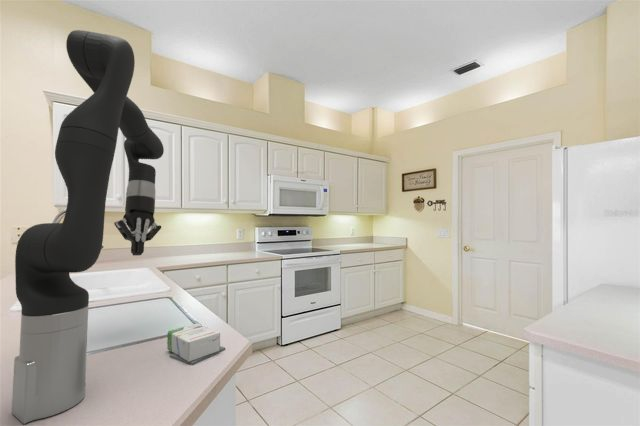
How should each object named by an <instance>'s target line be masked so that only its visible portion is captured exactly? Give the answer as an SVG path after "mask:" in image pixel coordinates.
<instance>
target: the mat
mask: <svg viewBox="0 0 640 426" xmlns="http://www.w3.org/2000/svg"><path fill="white" fill-rule="evenodd" d="M224 351H226V347H224V346H221V345H220V350H219V351H217V352H215V353H212V354H209V355H206V356H203V357H201V358H198V359H195V360H192V361H190V362H188V361H187V360H185V359H183V358H182V357H180V356H178V355H177V354H175V353H173V352H172V353H171V354H169V358H171V359H174V360H177V361H180V362H182V363H185V364H188V365H191V366H193V365H196V364H198V363H200V362H202V361H205V360H206V359H208V358H211V357H214V356H215V355H217V354H219V353H221V352H224Z"/></svg>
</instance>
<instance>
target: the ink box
mask: <svg viewBox="0 0 640 426" xmlns="http://www.w3.org/2000/svg"><path fill="white" fill-rule="evenodd" d="M220 346H221V332H220V331H217V330H215V329H213V328H211V327H208V326H206V325H203V324H202V323H199V322H198V323H193V324H190V325H186V326H183V327H178V328H175V329H171V330H168V331H167V350H168V351H170V352H172V354H173V353H175V354H177V355H178V356H180V357H182V358H183V359H185V360H187V361H188V362H190V361H192V360H195V359H198V358H201V357H203V356H206V355H209V354H212V353H215V352H217V351H219V350H220Z"/></svg>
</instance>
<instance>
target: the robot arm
mask: <svg viewBox="0 0 640 426" xmlns="http://www.w3.org/2000/svg"><path fill="white" fill-rule="evenodd" d="M65 44H66V45H65V46H66V47H65V48H66V52H67V55H68V58H69V61H70V62H71V64H72V66H73V68H74V69H75V71H76V72H77V74H78V75H79V77H80V78H81V79H82V80H83V81H84V82H85V84H86V85H88V87H89V89H91V90H92V92H93V94H91V95H90V96H89V97H88V98H87V99H85V100H84V101H83V102H81V103H80V104H79V105H78V106H76V107H75V108H73V110H72V111H70V112H69V113H68V114H67V116H65V118H63V120H62V122H61V124H60V128H59V131H58V135H57V141H56V144H55V149H54V150H55V151H54V156H55V157H54V158H55V162H56V165H57V168H58V170H59V172H60V175H61V176H62V178H63V181H64V183H65V186H66V191H67V203H66V210H65V214H64V216H63V217H64V218H63V221H62V222H51V223H49V222H48V223H47V222H46V223H44V222H43V223H39V224H33V225H32V226H30V227H29V228H27V229H25V231H23V233H22V234H21V236H20V237H19V239H18V241H17V244H16V248H15V254H14V255H15V256H14V257H15V261H14V262H15V263H14V265H15V268H14V269H15V295H16V298H17V300H18V302H19V303H20V306H21V312H20V313H21V315H20V316H21V317H20V318H21V319H20V334H19V335H20V336H19V338H20V339H19V355H17V356H15V357H14V359H13V360H14V361H13V362H14V364H13V378H12V379H13V380H12V394H11V395H12V398H11V414H12V415H14V417H15V418H17V419H18V420H19V422H21V423H22V424H24V425H25V424H27V423H30V422H33V421H36V420H41V419H46V418H49V417H53V416H55V415H58V414H60V413H63V412H66V411H67V410H69V409H71V408H73V407H75V406H76V405H77V404H79V403H80V402H82V401H83V399H84V398H85V395H86V387H87V386H86V380H87V377H86V376H87V353H88V352H87V351H88V350H87V349H88V330H89V329H88V326H89V325H88V322H89V303H90V302H89V301H90V300H89V299H90V295H89V292H88V290H87V289H85V288H84V287H82V286H80V285H78V284H76V283H75V282H74V281H73V280H72V278H71V275H70V273H82V272H85V271H88V270H89V269H91V268H92V267H93V266H94V265H95V263H97V260H99V257H100V255H101V252H102V251H101V250H102V247H103V240H104V231H105V229H104V227H105V217H106V215H105V212H106V202H107V194H108V188H109V181H110V176H111V172H112V167H113V162H114V158H115V153H116V149H117V148H116V147H117V144H118V143H117V142H118V135H119V130H120V131H121V133H122V135H123V136H124V138H125V140H124V142H123V147H124V153H125V155H126V158H127V164H128V182H127V187H126V192H125V207H124V212H125V213H124V215H123V217H122V219H120V220H117V221H114V223H113V224H114V225H113V226H115V228H116V229H117V230H118V232H119V233H120V234H121V236H122V237H123V239H124V240H126V241H129V242H130V244H131V247H130V253H131V254H132V256H134V257H135V256H142V254H144V252H145V251H144V250H145V243H146V242H148V241H151V240H153V238H154V237H155V236H156V235H157V234H158V233H159V231H160V230H161V229H162V226H161V225H158V224H157V223H156V222H155V221H156V220H155V217H154V216H155V215H154V214H155V210H156V209H155V207H156V192H157V191H156V173H157V172H156V168H155V166H153V165H151V164H148V163H143V162H140V160H159V159H161V158H162V157H163V155H164V153H165V151H164V149H165V148H164V145H163V142H162V141H161V139H160V137H159V136H158V135H157V134H156V133H155V132H154V131H153V130H152V129H151V128H150V127H149V125H148V123H147V120H146V117H145V115H144V113H143V111H142V110H141V108H140V107H139V106H138V105H137V104H136V103H135V101H133V100H132V99H131V98H129V96H128V93H129V89H130V87H131V83H132V80H133V77H134V74H135V73H134V72H135V63H136V61H135V53H134V50H133V47H132V45H131V44H130V43H129V41H127V40H126V39H124V38H121V37H119V36H115V35H110V34H106V33H99V32H95V31H88V30H80V29H78V30H72V31H70V33H69V34H68V35H67V38H66V43H65Z"/></svg>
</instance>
